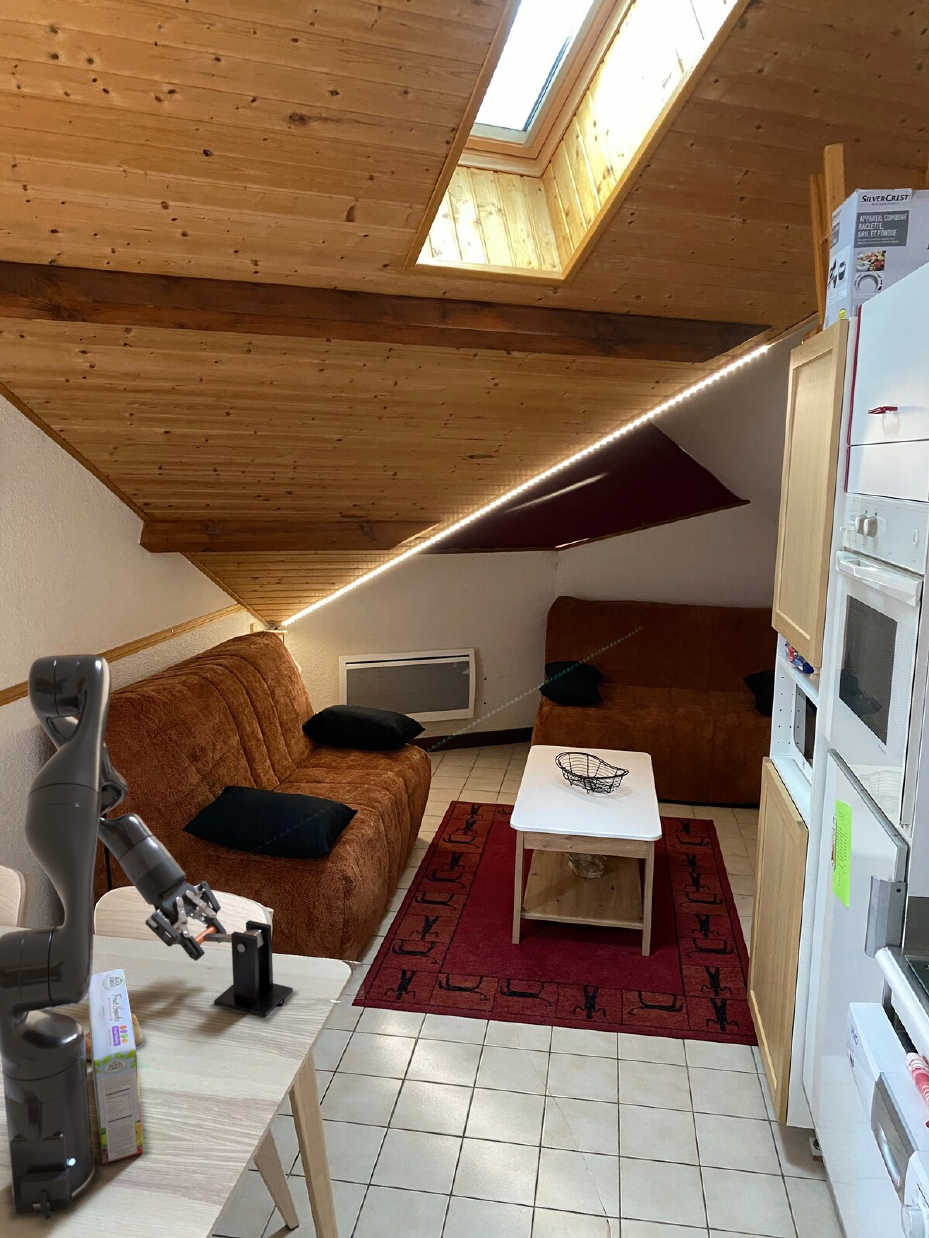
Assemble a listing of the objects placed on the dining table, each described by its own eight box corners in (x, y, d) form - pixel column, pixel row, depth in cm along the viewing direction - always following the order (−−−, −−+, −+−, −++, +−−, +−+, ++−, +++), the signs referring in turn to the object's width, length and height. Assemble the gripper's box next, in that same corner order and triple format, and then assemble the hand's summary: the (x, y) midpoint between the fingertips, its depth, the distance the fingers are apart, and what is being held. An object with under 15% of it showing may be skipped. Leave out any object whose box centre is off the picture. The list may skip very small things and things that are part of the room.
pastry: (83, 1070, 133) (81, 1047, 132) (70, 1048, 138) (68, 1025, 138) (146, 1045, 139) (145, 1022, 138) (131, 1025, 144) (130, 1003, 143)
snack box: (91, 1067, 134) (85, 973, 131) (132, 1057, 136) (126, 965, 133) (99, 1167, 114) (92, 1059, 112) (146, 1153, 117) (140, 1047, 114)
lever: (190, 951, 151) (187, 937, 150) (210, 935, 156) (208, 922, 155) (250, 954, 146) (247, 940, 146) (269, 938, 151) (267, 924, 151)
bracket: (214, 1006, 149) (211, 934, 147) (243, 981, 156) (240, 912, 154) (265, 1020, 145) (263, 946, 143) (292, 994, 152) (290, 923, 150)
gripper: (134, 874, 147) (197, 958, 144) (191, 841, 160) (250, 917, 158) (110, 899, 150) (171, 981, 147) (168, 864, 163) (225, 939, 160)
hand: (211, 947), depth 152 cm, fingers closed on lever, 5 cm apart
